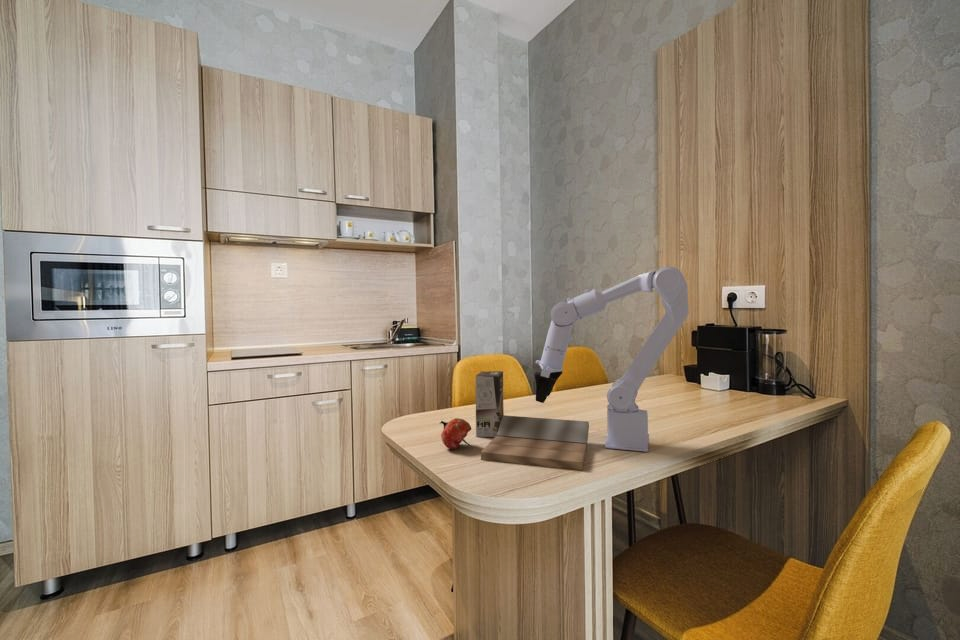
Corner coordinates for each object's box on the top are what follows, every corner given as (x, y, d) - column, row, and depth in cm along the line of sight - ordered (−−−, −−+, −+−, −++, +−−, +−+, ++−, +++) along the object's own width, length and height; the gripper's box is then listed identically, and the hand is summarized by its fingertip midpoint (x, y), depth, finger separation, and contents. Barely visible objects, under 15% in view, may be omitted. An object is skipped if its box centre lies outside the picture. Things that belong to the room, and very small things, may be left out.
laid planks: (586, 451, 99) (586, 444, 99) (581, 470, 87) (581, 462, 87) (496, 442, 106) (496, 436, 106) (480, 459, 94) (480, 451, 94)
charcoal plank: (588, 425, 105) (588, 421, 105) (587, 447, 100) (586, 443, 99) (503, 419, 113) (502, 415, 112) (497, 439, 107) (496, 435, 106)
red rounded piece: (471, 451, 106) (441, 425, 108) (486, 431, 104) (456, 405, 106) (459, 465, 99) (427, 437, 102) (475, 444, 97) (442, 415, 99)
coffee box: (499, 438, 110) (498, 376, 109) (475, 437, 111) (474, 375, 110) (504, 428, 119) (503, 370, 118) (482, 427, 120) (481, 370, 119)
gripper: (545, 341, 117) (533, 387, 119) (534, 347, 103) (521, 399, 105) (570, 348, 115) (558, 395, 116) (563, 355, 101) (549, 409, 103)
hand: (542, 398), depth 111 cm, fingers open, 7 cm apart
